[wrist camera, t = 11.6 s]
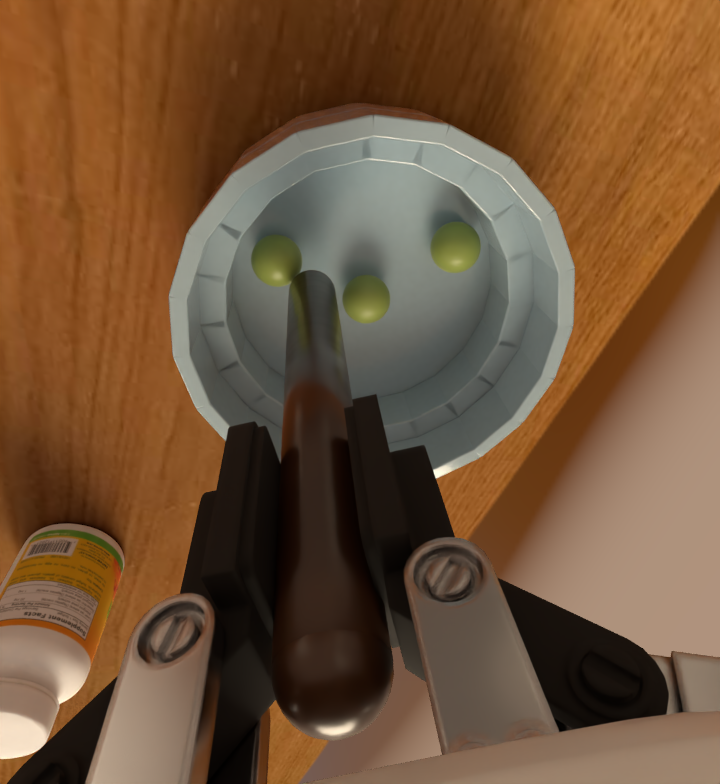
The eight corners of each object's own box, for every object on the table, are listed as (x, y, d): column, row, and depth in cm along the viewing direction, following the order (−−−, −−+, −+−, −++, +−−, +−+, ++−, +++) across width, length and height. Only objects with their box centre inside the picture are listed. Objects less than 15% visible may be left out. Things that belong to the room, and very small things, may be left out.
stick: (283, 268, 21) (250, 711, 7) (328, 258, 21) (391, 682, 7) (295, 310, 22) (288, 775, 8) (338, 301, 22) (412, 750, 8)
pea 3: (417, 264, 21) (443, 283, 23) (462, 255, 20) (486, 277, 21) (424, 218, 22) (449, 240, 23) (468, 207, 20) (492, 231, 22)
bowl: (140, 150, 20) (92, 178, 15) (514, 63, 20) (580, 66, 15) (254, 443, 28) (245, 521, 23) (524, 384, 27) (571, 451, 23)
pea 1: (264, 225, 22) (233, 248, 20) (304, 226, 21) (273, 250, 19) (279, 270, 23) (251, 294, 22) (317, 272, 22) (289, 298, 21)
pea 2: (336, 273, 23) (339, 291, 21) (382, 263, 23) (389, 280, 21) (346, 316, 24) (349, 336, 22) (390, 306, 24) (397, 325, 22)
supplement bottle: (90, 597, 32) (20, 779, 24) (5, 556, 30) (-105, 744, 22) (146, 551, 31) (91, 730, 23) (61, 504, 28) (-35, 685, 20)
